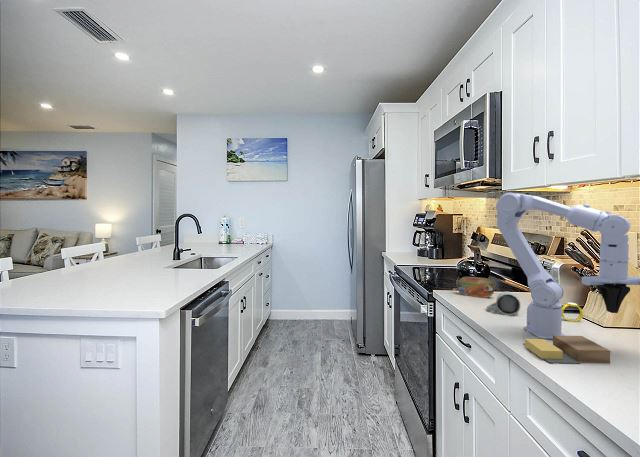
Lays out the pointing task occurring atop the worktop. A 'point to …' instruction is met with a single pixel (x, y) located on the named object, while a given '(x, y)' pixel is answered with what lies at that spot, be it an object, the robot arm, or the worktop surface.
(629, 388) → the worktop surface
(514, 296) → the ceramic mug
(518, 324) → the worktop surface
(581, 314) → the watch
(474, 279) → the tin
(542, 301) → the robot arm
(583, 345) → the block
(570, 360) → the mat
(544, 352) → the yellow sponge
